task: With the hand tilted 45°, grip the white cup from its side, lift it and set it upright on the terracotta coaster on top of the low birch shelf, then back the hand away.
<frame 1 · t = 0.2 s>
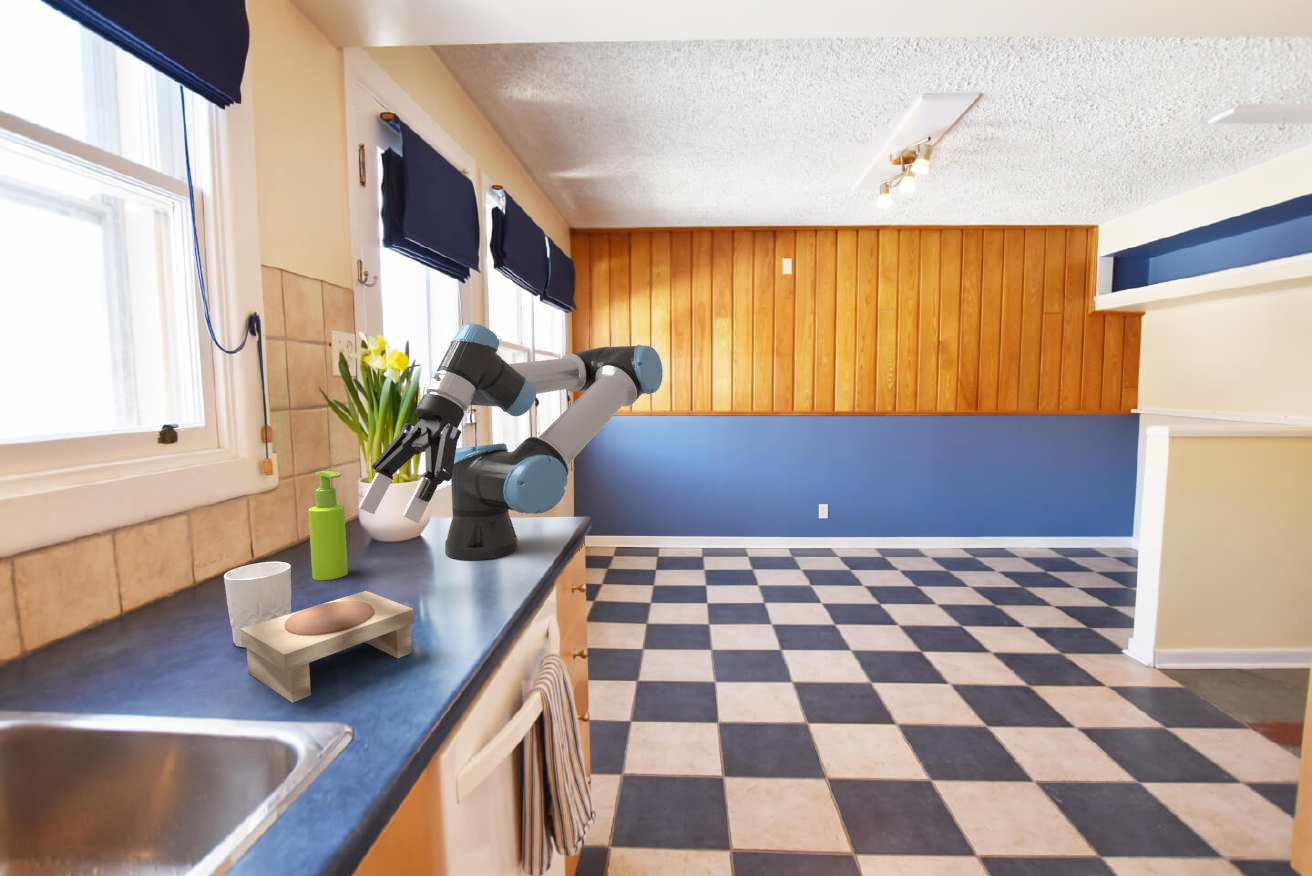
hand: (387, 515, 93), 15 cm above the table, tool tilted 35°, fingers open, 13 cm apart
soap dispenser: (331, 576, 110), on the table
birch shelf: (333, 662, 76), on the table
white cup: (262, 638, 83), on the table
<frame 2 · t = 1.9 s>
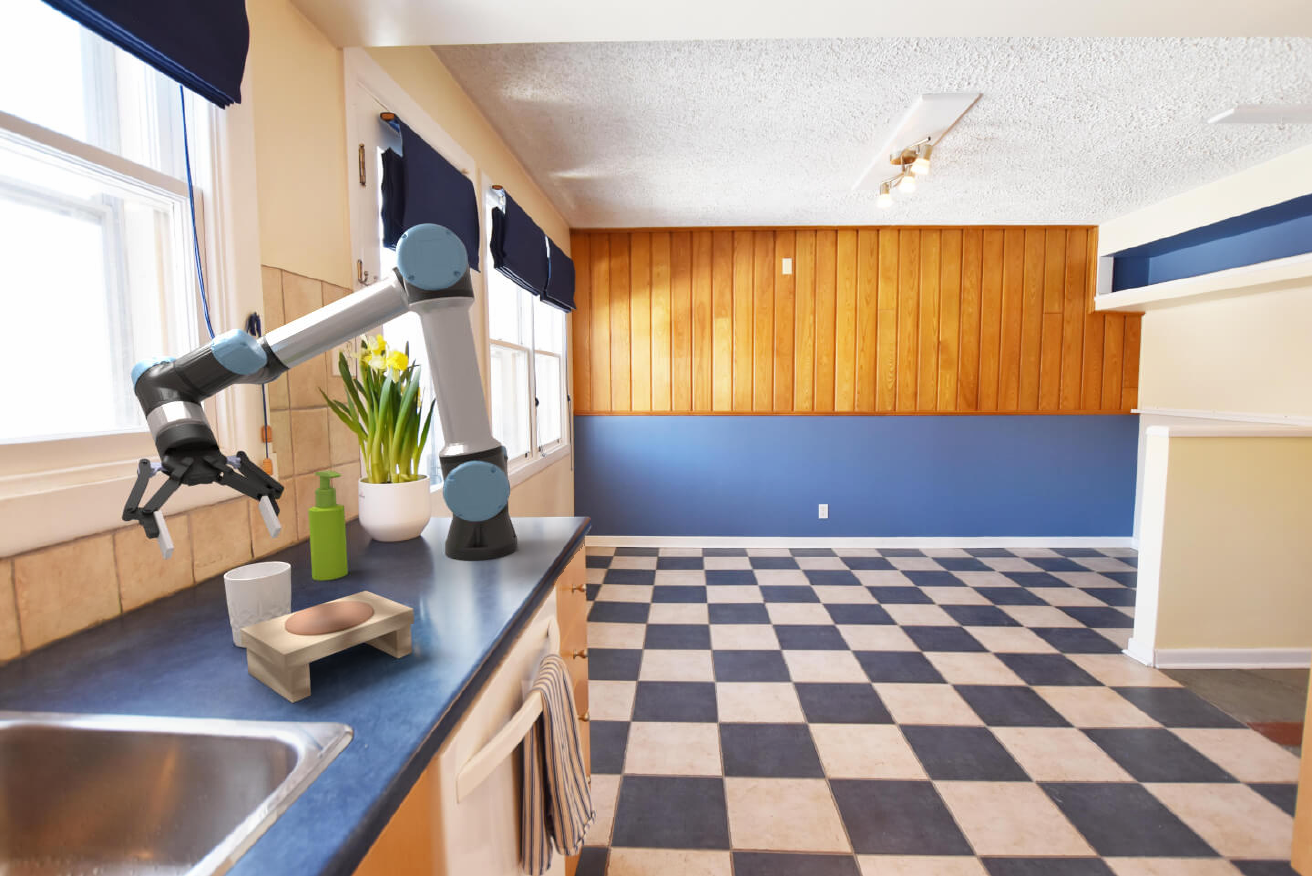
hand: (226, 543, 87), 13 cm above the table, tool tilted 45°, fingers open, 13 cm apart
nothing on the table moved.
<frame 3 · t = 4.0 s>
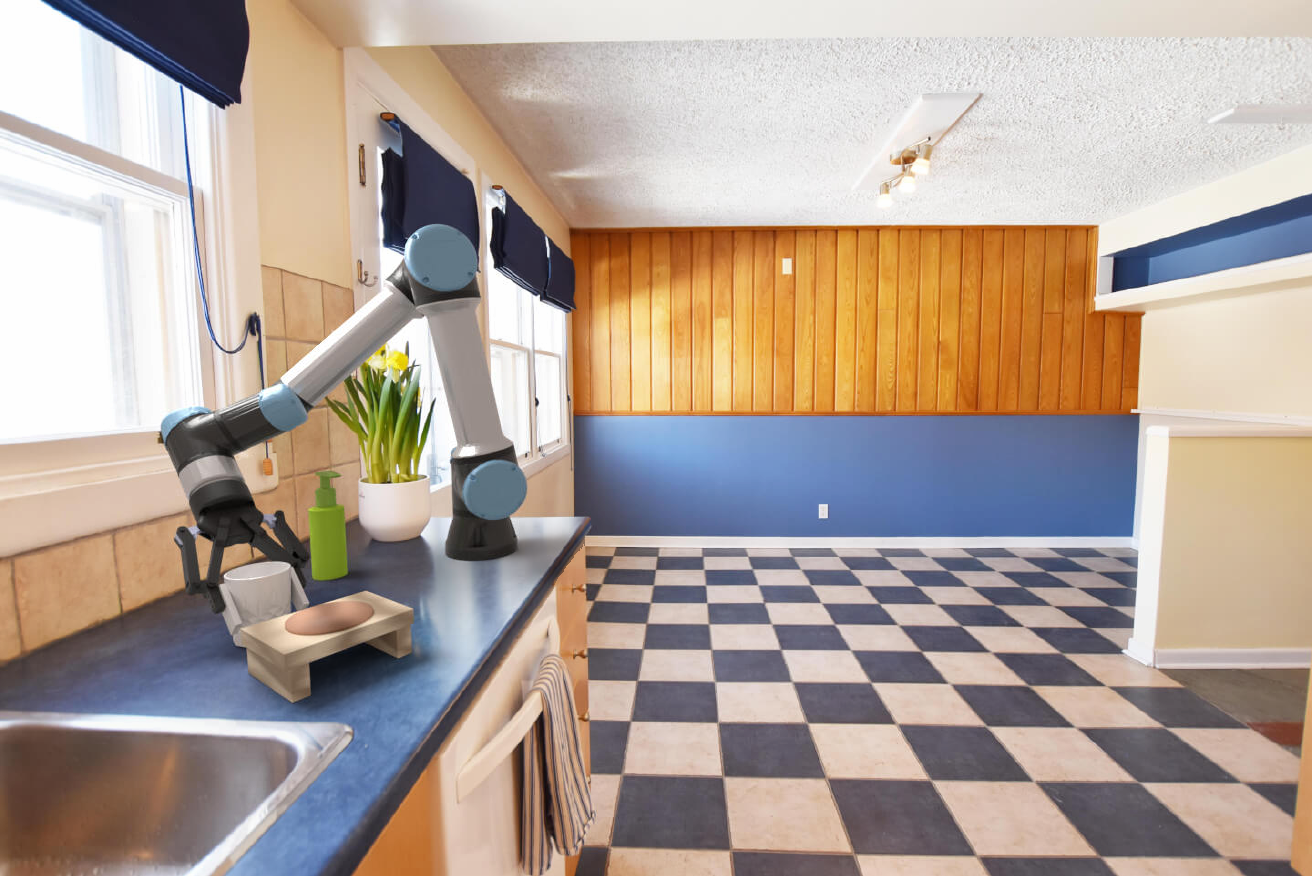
hand: (271, 618, 81), 4 cm above the table, tool tilted 45°, fingers closed on white cup, 8 cm apart
white cup: (262, 638, 83), on the table, touching gripper
everything else where it was.
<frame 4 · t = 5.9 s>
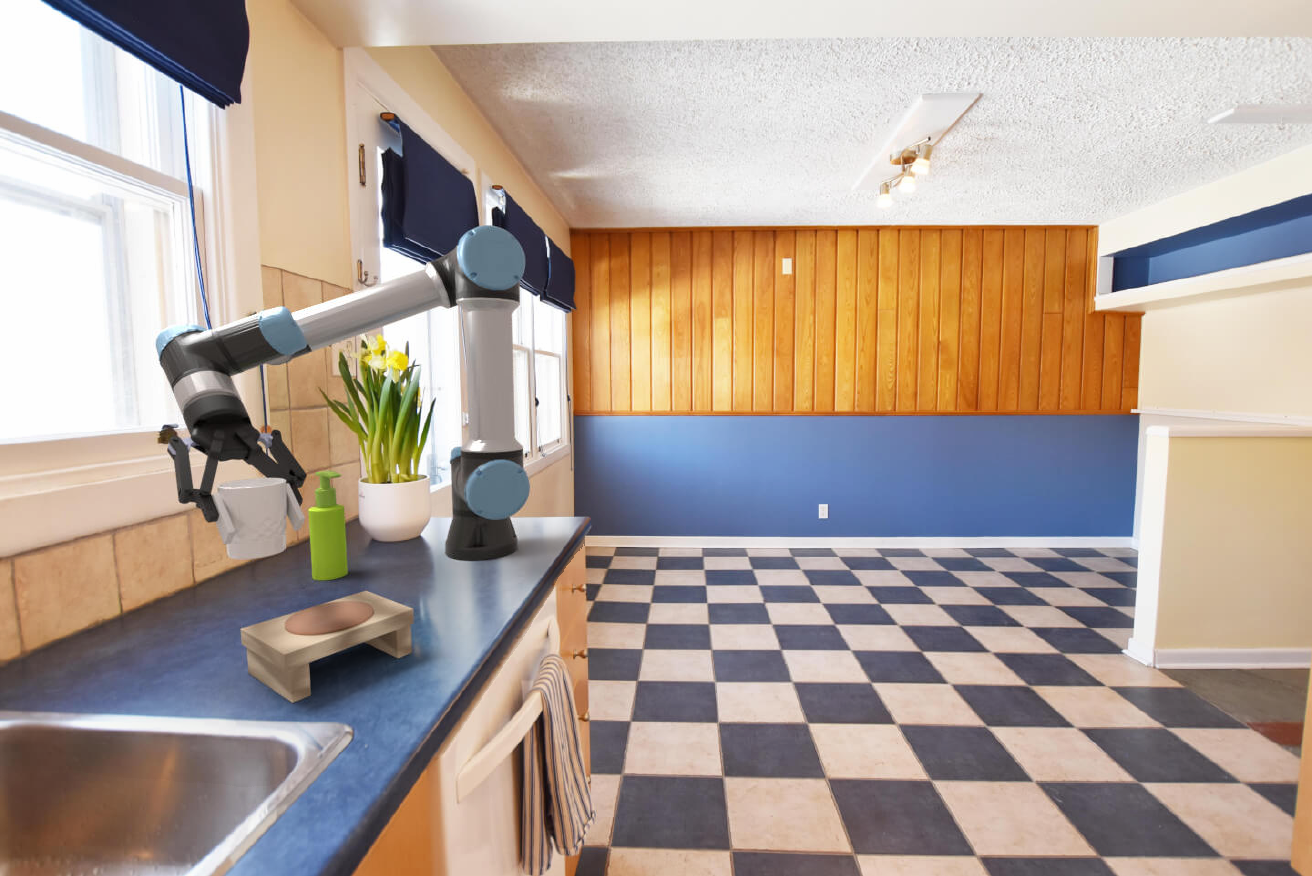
hand: (266, 531, 79), 16 cm above the table, tool tilted 45°, fingers closed on white cup, 8 cm apart
white cup: (257, 554, 81), point 13 cm above the table, touching gripper
everything else where it was.
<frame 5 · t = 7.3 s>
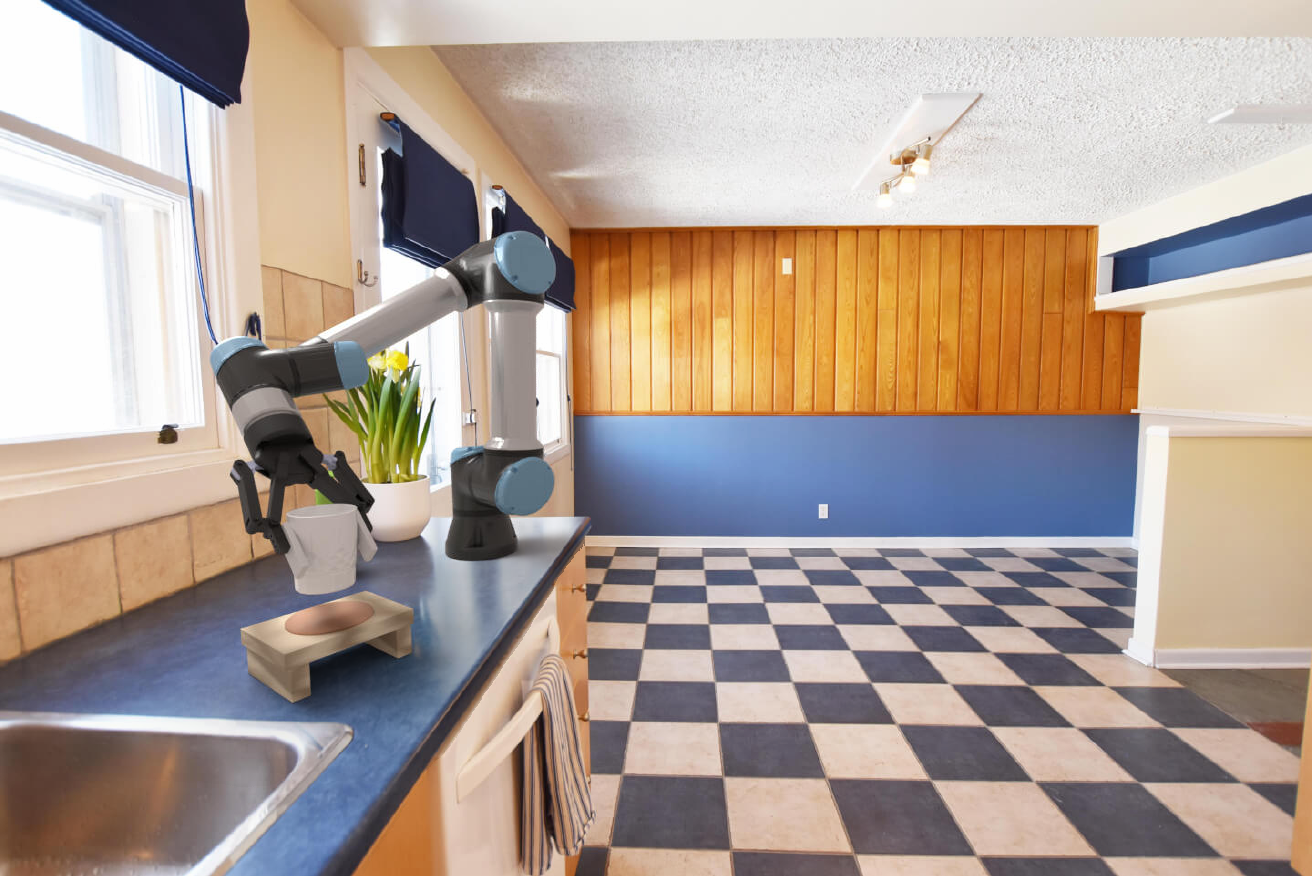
hand: (338, 563, 73), 14 cm above the table, tool tilted 45°, fingers closed on white cup, 8 cm apart
white cup: (326, 587, 75), point 10 cm above the table, touching gripper
everything else where it was.
when the fingers open (12 cm above the table, at t = 8.1 s): white cup drops 1 cm, resting on birch shelf.
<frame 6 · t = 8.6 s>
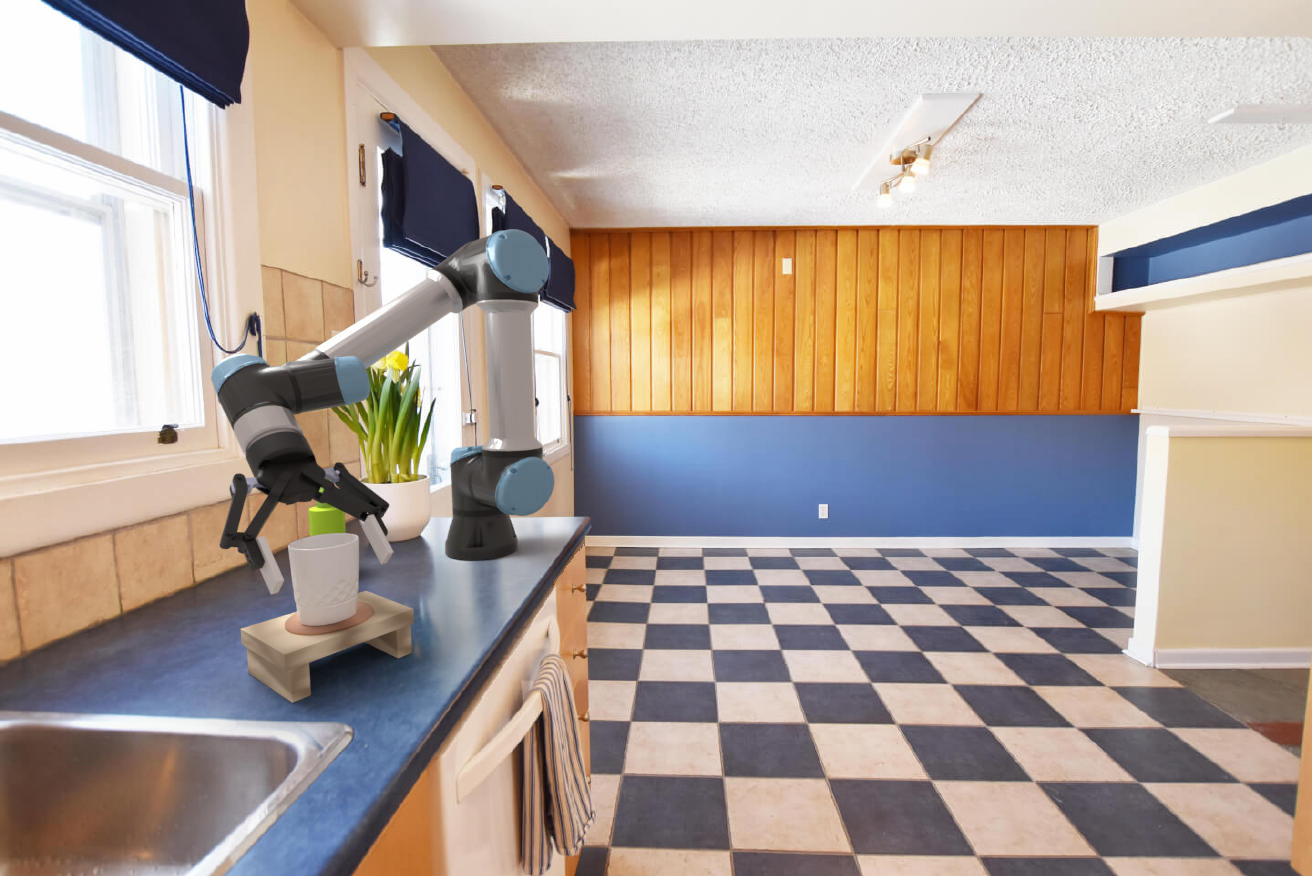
hand: (336, 572, 73), 13 cm above the table, tool tilted 45°, fingers open, 13 cm apart
white cup: (328, 617, 75), point 6 cm above the table, touching birch shelf
everything else where it was.
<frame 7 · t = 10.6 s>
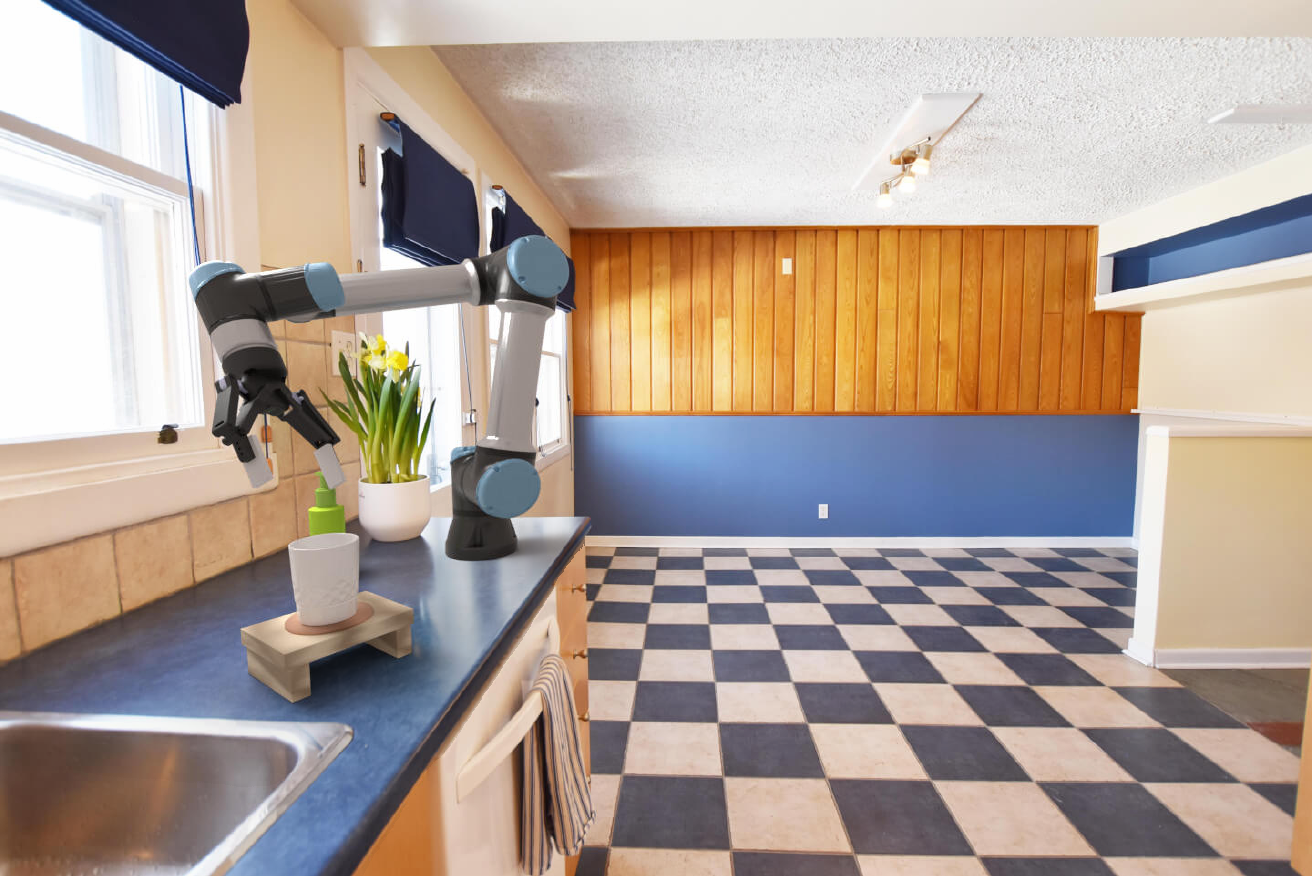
hand: (303, 484, 82), 22 cm above the table, tool tilted 35°, fingers open, 13 cm apart
nothing on the table moved.
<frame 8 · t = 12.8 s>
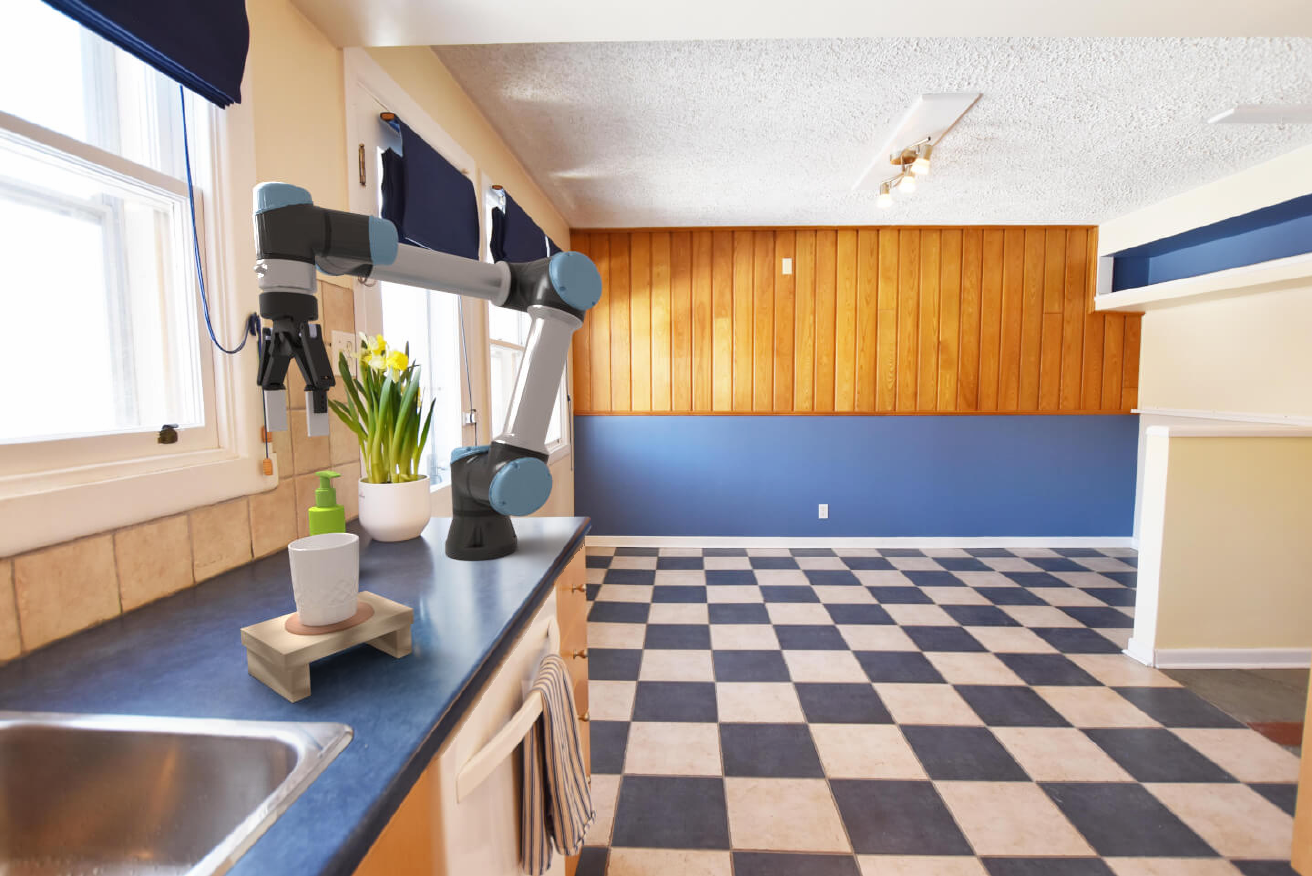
hand: (297, 433, 89), 29 cm above the table, tool pointing down, fingers open, 13 cm apart
nothing on the table moved.
at the end: white cup 0.2 cm off-centre on the birch shelf, point 6.2 cm above the birch shelf's base; white cup tilted 0°; the gripper is holding nothing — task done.
